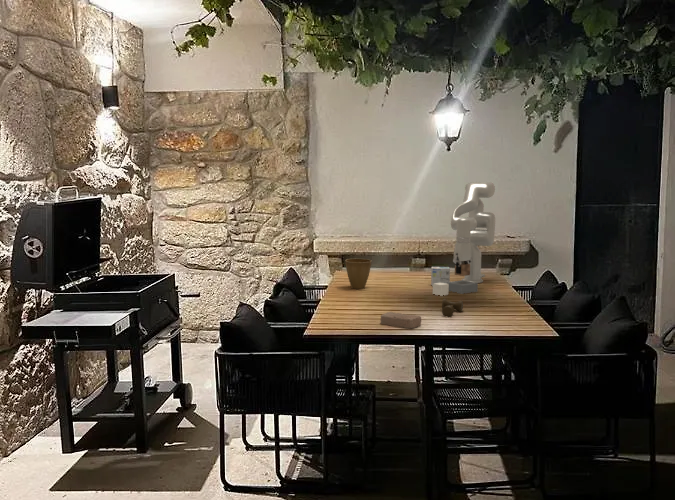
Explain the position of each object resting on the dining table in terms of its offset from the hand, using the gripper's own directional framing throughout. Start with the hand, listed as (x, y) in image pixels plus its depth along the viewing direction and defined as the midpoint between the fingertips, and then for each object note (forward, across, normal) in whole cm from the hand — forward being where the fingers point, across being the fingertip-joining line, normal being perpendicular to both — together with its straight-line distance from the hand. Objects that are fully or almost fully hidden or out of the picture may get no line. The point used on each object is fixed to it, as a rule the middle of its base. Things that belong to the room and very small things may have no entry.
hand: (462, 272), depth 358 cm
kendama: (+11, +47, +31) cm, 57 cm away
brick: (+12, +83, +32) cm, 89 cm away
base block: (+11, 0, 0) cm, 11 cm away
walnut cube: (+1, 0, 0) cm, 1 cm away
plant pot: (+11, +38, -44) cm, 59 cm away
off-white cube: (+11, +17, -1) cm, 20 cm away
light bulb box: (+10, -4, -19) cm, 22 cm away
